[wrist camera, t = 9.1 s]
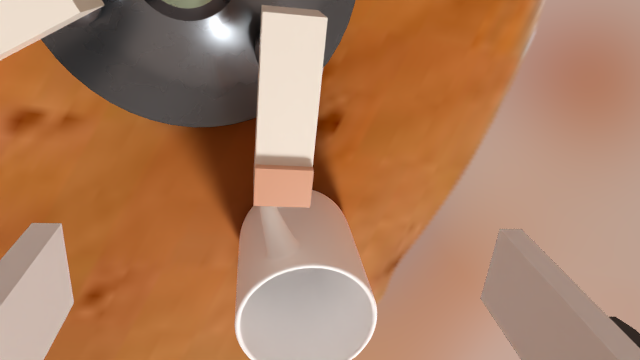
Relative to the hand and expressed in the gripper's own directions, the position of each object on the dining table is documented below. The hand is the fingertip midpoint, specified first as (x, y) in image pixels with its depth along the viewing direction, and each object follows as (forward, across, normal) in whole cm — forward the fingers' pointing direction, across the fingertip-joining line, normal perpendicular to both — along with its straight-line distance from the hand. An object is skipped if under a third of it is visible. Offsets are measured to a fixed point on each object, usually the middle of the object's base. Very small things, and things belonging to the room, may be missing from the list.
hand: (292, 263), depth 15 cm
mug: (+21, +2, -10) cm, 23 cm away
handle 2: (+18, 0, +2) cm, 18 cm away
